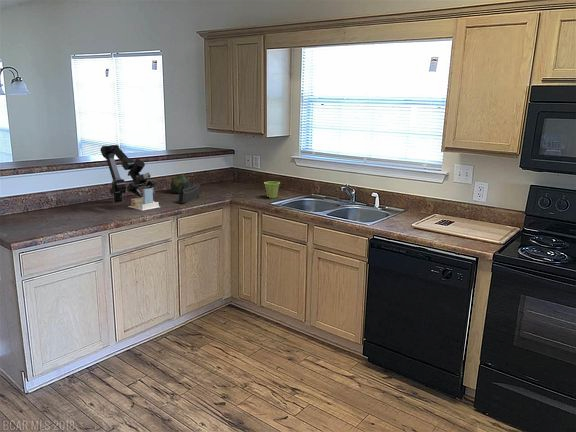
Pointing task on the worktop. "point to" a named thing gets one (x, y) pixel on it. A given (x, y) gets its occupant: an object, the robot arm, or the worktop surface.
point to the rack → (146, 206)
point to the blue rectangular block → (147, 196)
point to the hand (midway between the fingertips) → (147, 196)
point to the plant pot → (272, 189)
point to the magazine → (189, 193)
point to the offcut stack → (136, 202)
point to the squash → (179, 183)
